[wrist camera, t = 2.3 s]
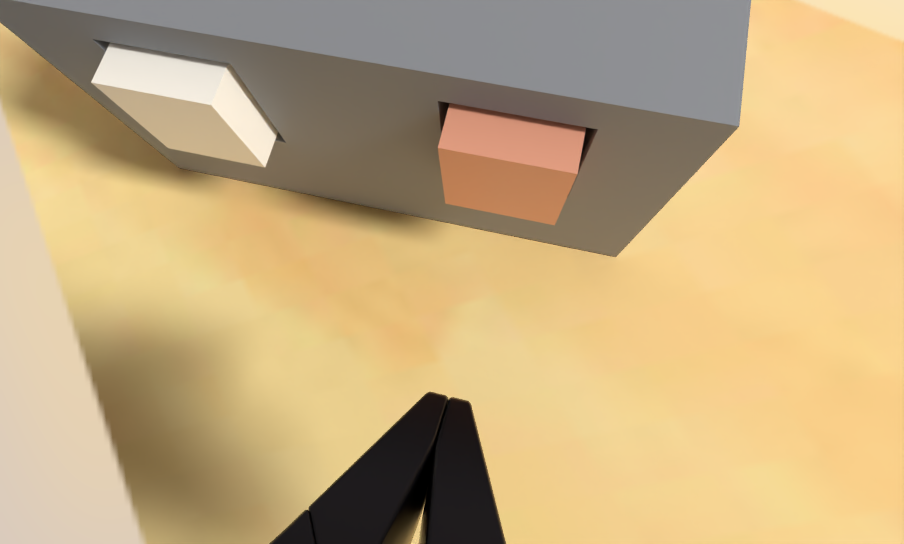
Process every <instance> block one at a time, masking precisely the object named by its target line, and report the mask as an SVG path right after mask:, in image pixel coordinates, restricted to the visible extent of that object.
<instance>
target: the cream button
mask: <svg viewBox="0 0 904 544" xmlns="http://www.w3.org/2000/svg"><path fill="white" fill-rule="evenodd" d="M91 83H92V84H93V85H95V86H96V87H97V88H98V89H99V90H100V91H102V92H103V93H104V94H105V95H106V96H107V97H109V98H110V99H111V100H112V101H113V102H115V103H116V104H117V105H118V106H119V107H120V108H122V109H123V110H124V111H125V112H126V113H127V114H129V115H130V116H131V117H132V118H133V119H134V120H136V121H137V122H138V123H139V124H140V125H142V126H143V127H144V128H145V129H146V130H147V131H149V132H150V133H151V134H152V135H153V136H154V137H156V138H157V139H158V140H159V141H160V142H161V143H163V144H164V145H165V146H166V147H167V148H170V149H175V150H180V151H185V152H190V153H195V154H200V155H205V156H210V157H215V158H220V159H225V160H230V161H235V162H240V163H245V164H250V165H255V166H260V167H266V164H267V161H268V158H269V156H270V153H271V150H272V147H273V145H274V142H275V139H276V136H277V133H278V131H277V129H276V128H275V126H274V125H273V123H272V122H271V121H270V119H269V118H268V116H267V115H266V114H265V112H264V111H263V109H262V108H261V106H260V105H259V104H258V102H257V101H256V99H255V98H254V97H253V95H252V94H251V92H250V91H249V89H248V88H247V87H246V85H245V84H244V82H243V81H242V79H241V78H240V77H239V75H238V74H237V72H236V71H235V70H234V68H233V67H232V65H231V64H229V63H224V62H218V61H212V60H207V59H201V58H196V57H190V56H184V55H179V54H173V53H168V52H162V51H156V50H151V49H145V48H140V47H134V46H128V45H123V44H117V43H112V42H110V44H109V46H108V48H107V50H106V52H105V54H104V56H103V58H102V60H101V63H100V65H99V67H98V69H97V71H96V73H95V75H94V77H93V79H92V81H91Z"/></svg>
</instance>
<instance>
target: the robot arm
mask: <svg viewBox="0 0 904 544" xmlns="http://www.w3.org/2000/svg"><path fill="white" fill-rule="evenodd" d="M424 504H425V505H424ZM423 507H424V511H423ZM422 511H423V517H422V523H421V531H420V539H419V544H506V542H505V538H504V534H503V530H502V526H501V522H500V518H499V514H498V510H497V506H496V502H495V498H494V494H493V490H492V486H491V482H490V478H489V474H488V470H487V466H486V462H485V458H484V454H483V450H482V446H481V442H480V438H479V434H478V430H477V426H476V422H475V418H474V414H473V410H472V406H471V404H470V402H469V401H466V400H462V399H458V398H454V397H451V398H450V399H449V400H448V397H447V396H446V395H442V394H437V393H433V392H428V393H426V394H425V395H424V396H423V397H422V398H421V399H420V400H419V401H418V402H417V403H416V404H415V405H414V406H413V407H412V408H411V409H410V410H409V411H408V412H407V413H406V414H405V415H403V416H402V417H401V418H400V419H399V420H398V421H397V422H396V423H395V424H394V425H393V426H392V427H391V428H390V429H389V430H388V431H387V432H386V433H385V434H384V435H383V436H382V437H381V438H380V439H379V440H378V441H377V442H376V443H374V444H373V445H372V446H371V447H370V448H369V449H368V450H367V451H366V452H365V453H364V454H363V455H362V456H361V457H360V458H359V459H358V460H357V461H356V462H355V463H354V464H353V465H352V466H351V467H350V468H349V469H348V470H346V471H345V472H344V473H343V474H342V475H341V476H340V477H339V478H338V479H337V480H336V481H335V482H334V483H333V484H332V485H331V486H330V487H329V488H328V489H327V490H326V491H325V492H324V493H323V494H322V495H321V496H320V497H319V498H317V499H316V500H315V501H314V502H313V503H312V504H311V505H310V506H309V511H308V510H305V511H304V512H303V513H302V514H301V515H300V516H299V517H298V518H297V519H295V520H294V521H293V522H292V523H291V524H290V525H289V526H288V527H287V528H286V529H285V530H284V531H283V532H282V533H281V534H279V535H278V536H277V537H276V538H275V539H274V540H273V541H272V542H271V543H270V544H410V543H411V541H412V538H413V536H414V533H415V530H416V528H417V525H418V522H419V519H420V517H421V514H422Z"/></svg>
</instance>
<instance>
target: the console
mask: <svg viewBox="0 0 904 544" xmlns="http://www.w3.org/2000/svg"><path fill="white" fill-rule="evenodd" d="M750 5H751V0H0V22H1V23H2V24H3V25H4V26H5V27H7V28H8V29H9V30H10V31H12V32H13V33H14V34H15V35H16V36H18V37H19V38H20V39H21V40H23V41H24V42H25V43H26V44H27V45H29V46H30V47H31V48H32V49H34V50H35V51H36V52H37V53H39V54H40V55H41V56H42V57H43V58H45V59H46V60H47V61H48V62H50V63H51V64H52V65H53V66H54V67H56V68H57V69H58V70H59V71H61V72H62V73H63V74H64V75H65V76H67V77H68V78H69V79H70V80H72V81H73V82H74V83H75V84H77V85H78V86H79V87H80V88H81V89H83V90H84V91H85V92H86V93H88V94H89V95H90V96H91V97H92V98H94V99H95V100H96V101H97V102H99V103H100V104H101V105H102V106H103V107H105V108H106V109H107V110H108V111H110V112H111V113H112V114H113V115H115V116H116V117H117V118H118V119H119V120H121V121H122V122H123V123H124V124H126V125H127V126H128V127H129V128H130V129H132V130H133V131H134V132H135V133H137V134H138V135H139V136H140V137H141V138H143V139H144V140H145V141H146V142H148V143H149V144H150V145H151V146H152V147H154V148H155V149H156V150H157V151H159V152H160V153H161V154H162V155H164V156H165V157H166V158H167V159H168V160H170V161H171V162H172V163H173V164H175V165H176V166H177V167H178V168H182V169H186V170H191V171H196V172H201V173H206V174H211V175H216V176H221V177H226V178H231V179H236V180H240V181H245V182H250V183H255V184H260V185H265V186H270V187H275V188H280V189H285V190H290V191H295V192H299V193H304V194H309V195H314V196H319V197H324V198H329V199H334V200H339V201H344V202H349V203H354V204H358V205H363V206H368V207H373V208H378V209H383V210H388V211H393V212H398V213H403V214H408V215H412V216H417V217H422V218H427V219H432V220H437V221H442V222H447V223H452V224H457V225H462V226H467V227H471V228H476V229H481V230H486V231H491V232H496V233H501V234H506V235H511V236H516V237H521V238H526V239H530V240H535V241H540V242H545V243H550V244H555V245H560V246H565V247H570V248H575V249H580V250H584V251H589V252H594V253H599V254H604V255H609V256H614V257H616V256H617V255H618V254H619V253H620V252H621V251H622V250H623V249H624V248H625V247H626V246H627V245H628V244H629V243H630V241H631V240H632V239H633V238H634V237H635V236H636V235H637V234H638V233H639V232H640V231H641V230H642V229H643V228H644V227H645V226H646V225H647V223H648V222H649V221H650V220H651V219H652V218H653V217H654V216H655V215H656V214H657V213H658V212H659V211H660V210H661V209H662V208H663V207H664V205H665V204H666V203H667V202H668V201H669V200H670V199H671V198H672V197H673V196H674V195H675V194H676V193H677V192H678V191H679V190H680V188H681V187H682V186H683V185H684V184H685V183H686V182H687V181H688V180H689V179H690V178H691V177H692V176H693V175H694V174H695V173H696V172H697V170H698V169H699V168H700V167H701V166H702V165H703V164H704V163H705V162H706V161H707V160H708V159H709V158H710V157H711V156H712V155H713V154H714V152H715V151H716V150H717V149H718V148H719V147H720V146H721V145H722V144H723V143H724V142H725V141H726V140H727V139H728V138H729V137H730V135H731V134H732V133H733V132H734V131H735V130H736V129H737V128H738V127H739V122H740V112H741V101H742V90H743V80H744V69H745V59H746V48H747V37H748V27H749V16H750ZM110 42H112V43H117V44H123V45H128V46H134V47H140V48H145V49H151V50H156V51H162V52H168V53H173V54H179V55H184V56H190V57H196V58H201V59H207V60H212V61H218V62H224V63H229V64H231V65H232V67H233V68H234V70H235V71H236V72H237V74H238V75H239V77H240V78H241V79H242V81H243V82H244V84H245V85H246V87H247V88H248V89H249V91H250V92H251V94H252V95H253V97H254V98H255V99H256V101H257V102H258V104H259V105H260V106H261V108H262V109H263V111H264V112H265V114H266V115H267V116H268V118H269V119H270V121H271V122H272V123H273V125H274V126H275V128H276V129H277V131H278V133H277V136H276V139H275V142H274V145H273V147H272V150H271V153H270V156H269V158H268V161H267V164H266V167H260V166H255V165H250V164H245V163H240V162H235V161H230V160H225V159H220V158H215V157H210V156H205V155H200V154H195V153H190V152H185V151H180V150H175V149H170V148H167V147H166V146H165V145H164V144H163V143H161V142H160V141H159V140H158V139H157V138H156V137H154V136H153V135H152V134H151V133H150V132H149V131H147V130H146V129H145V128H144V127H143V126H142V125H140V124H139V123H138V122H137V121H136V120H134V119H133V118H132V117H131V116H130V115H129V114H127V113H126V112H125V111H124V110H123V109H122V108H120V107H119V106H118V105H117V104H116V103H115V102H113V101H112V100H111V99H110V98H109V97H107V96H106V95H105V94H104V93H103V92H102V91H100V90H99V89H98V88H97V87H96V86H95V85H93V84H92V83H91V81H92V79H93V77H94V75H95V73H96V71H97V69H98V67H99V65H100V63H101V60H102V58H103V56H104V54H105V52H106V50H107V48H108V46H109V44H110ZM450 103H453V104H458V105H464V106H470V107H475V108H481V109H486V110H492V111H498V112H503V113H509V114H514V115H520V116H526V117H531V118H537V119H542V120H548V121H554V122H559V123H565V124H570V125H576V126H582V127H586V130H585V136H584V141H583V147H582V152H581V158H580V163H579V169H578V174H577V176H576V179H575V181H574V183H573V185H572V188H571V190H570V192H569V194H568V197H567V199H566V201H565V203H564V206H563V208H562V210H561V212H560V215H559V217H558V219H557V221H556V223H555V225H550V224H545V223H540V222H535V221H530V220H525V219H520V218H515V217H510V216H505V215H500V214H495V213H490V212H485V211H480V210H475V209H470V208H465V207H460V206H455V205H450V204H445V197H444V190H443V183H442V175H441V168H440V161H439V153H438V145H439V141H440V137H441V134H442V130H443V126H444V122H445V119H446V115H447V111H448V107H449V104H450Z"/></svg>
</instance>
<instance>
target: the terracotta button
mask: <svg viewBox="0 0 904 544" xmlns="http://www.w3.org/2000/svg"><path fill="white" fill-rule="evenodd" d="M585 130H586V127H582V126H576V125H570V124H565V123H559V122H554V121H548V120H542V119H537V118H531V117H526V116H520V115H514V114H509V113H503V112H498V111H492V110H486V109H481V108H475V107H470V106H464V105H458V104H453V103H450V104H449V107H448V111H447V115H446V119H445V122H444V126H443V130H442V134H441V137H440V141H439V145H438V153H439V161H440V168H441V175H442V183H443V190H444V197H445V204H450V205H455V206H460V207H465V208H470V209H475V210H480V211H485V212H490V213H495V214H500V215H505V216H510V217H515V218H520V219H525V220H530V221H535V222H540V223H545V224H550V225H555V223H556V221H557V219H558V217H559V215H560V212H561V210H562V208H563V206H564V203H565V201H566V199H567V197H568V194H569V192H570V190H571V188H572V185H573V183H574V181H575V179H576V176H577V174H578V169H579V163H580V158H581V152H582V147H583V141H584V136H585Z"/></svg>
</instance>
